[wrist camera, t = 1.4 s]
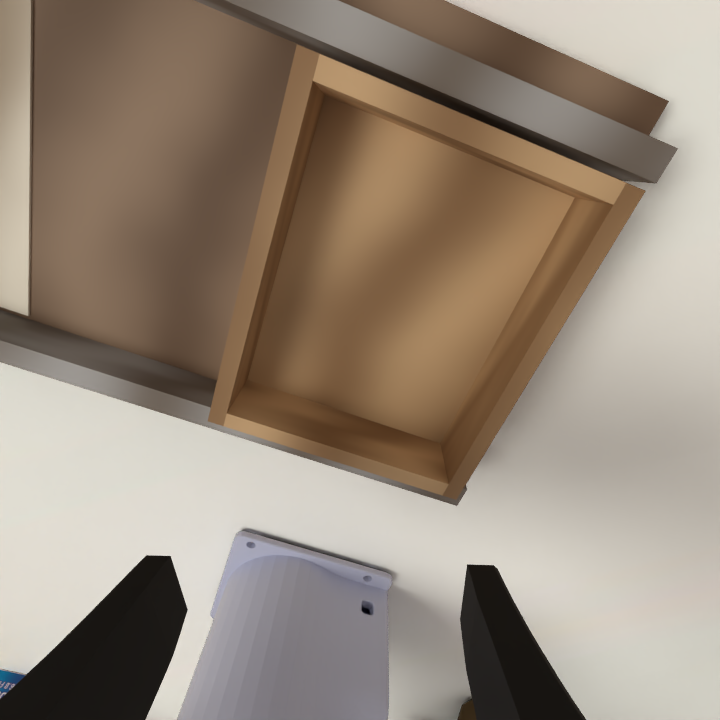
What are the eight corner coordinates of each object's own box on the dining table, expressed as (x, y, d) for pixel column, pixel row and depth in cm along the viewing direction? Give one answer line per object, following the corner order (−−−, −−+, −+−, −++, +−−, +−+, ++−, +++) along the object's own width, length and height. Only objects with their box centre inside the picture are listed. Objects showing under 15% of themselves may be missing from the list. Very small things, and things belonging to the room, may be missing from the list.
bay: (650, 105, 14) (811, 71, 9) (435, 483, 22) (452, 588, 17) (-158, -256, 12) (-619, -612, 6) (-88, 316, 19) (-273, 377, 14)
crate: (592, 185, 14) (645, 191, 12) (445, 449, 19) (456, 499, 17) (315, 69, 13) (296, 44, 10) (235, 380, 18) (207, 421, 15)
